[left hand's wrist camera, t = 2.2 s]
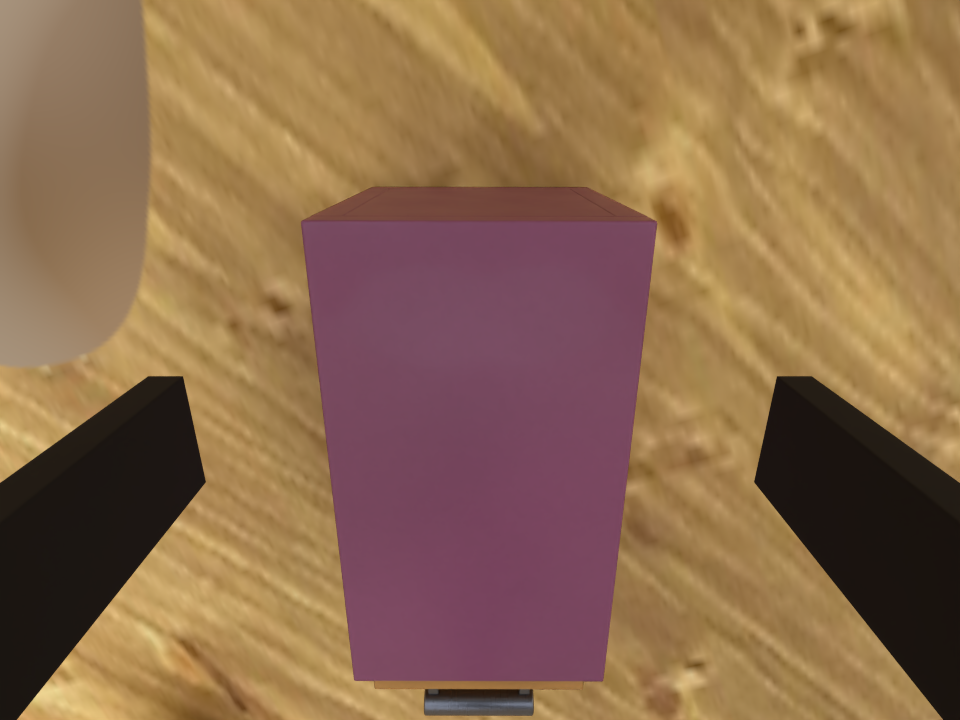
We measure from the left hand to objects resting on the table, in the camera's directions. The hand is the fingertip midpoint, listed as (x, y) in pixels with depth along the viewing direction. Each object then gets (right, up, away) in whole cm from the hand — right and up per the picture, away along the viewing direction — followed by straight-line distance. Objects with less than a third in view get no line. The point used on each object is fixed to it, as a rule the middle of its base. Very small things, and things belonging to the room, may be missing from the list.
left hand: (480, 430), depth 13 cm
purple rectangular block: (0, +1, +19) cm, 19 cm away
